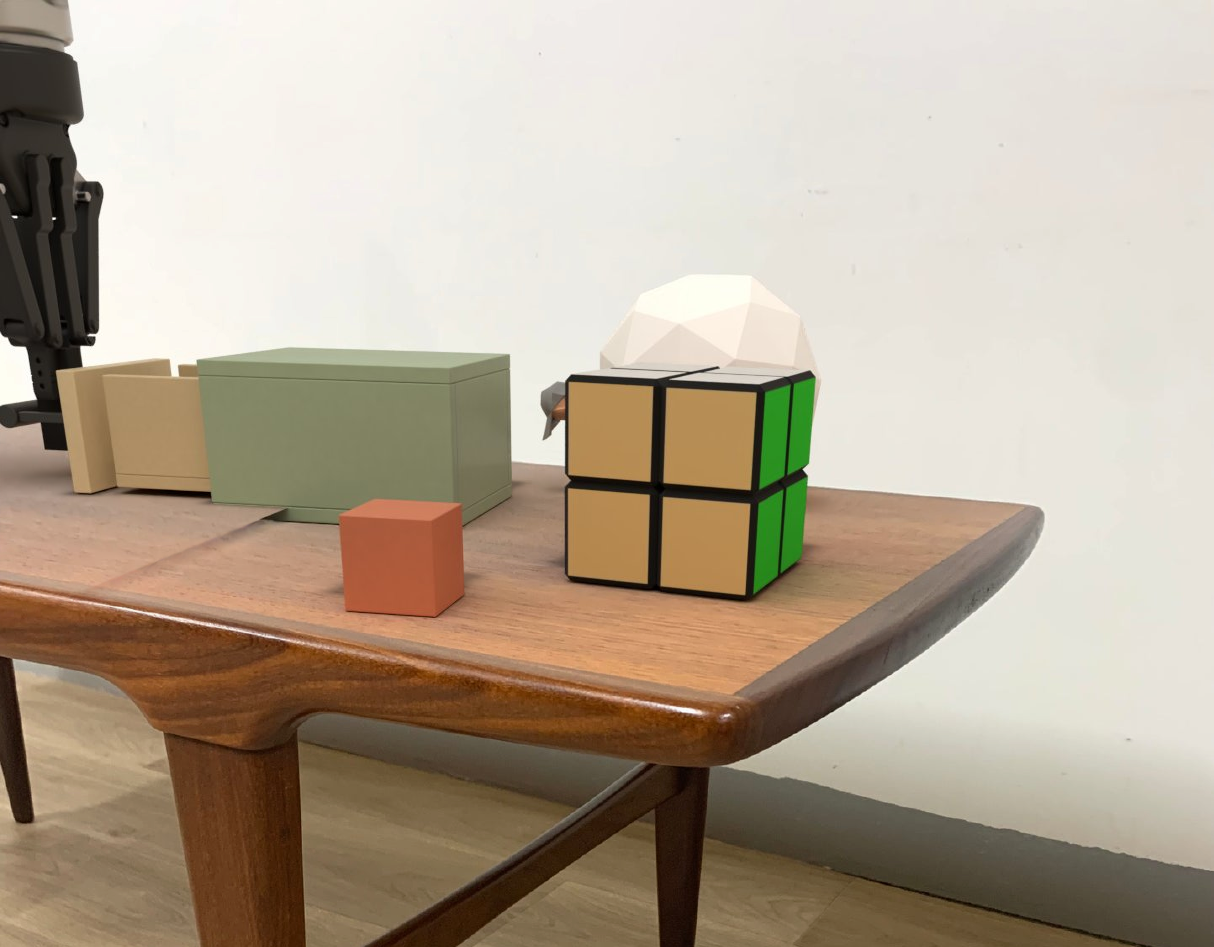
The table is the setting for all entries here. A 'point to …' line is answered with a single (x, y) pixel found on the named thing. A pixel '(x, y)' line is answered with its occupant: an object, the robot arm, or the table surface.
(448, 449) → the cabinet
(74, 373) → the drawer
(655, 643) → the table surface
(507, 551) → the table surface
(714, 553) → the puzzle cube
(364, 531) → the block
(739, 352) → the person on sphere
